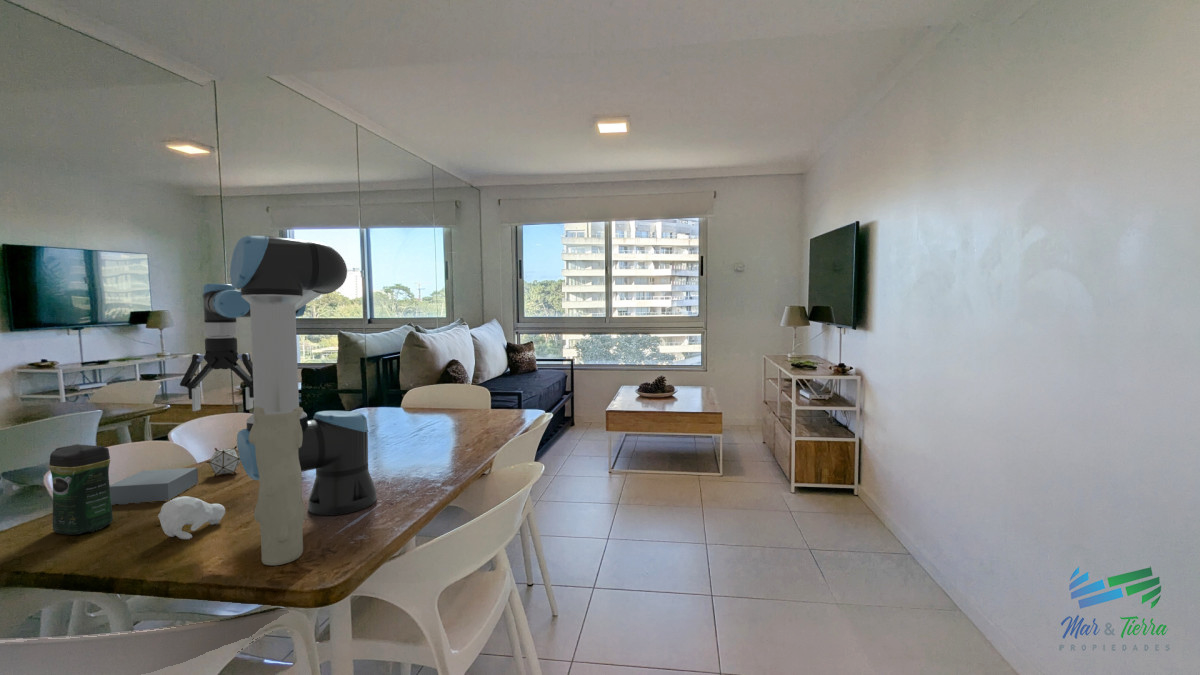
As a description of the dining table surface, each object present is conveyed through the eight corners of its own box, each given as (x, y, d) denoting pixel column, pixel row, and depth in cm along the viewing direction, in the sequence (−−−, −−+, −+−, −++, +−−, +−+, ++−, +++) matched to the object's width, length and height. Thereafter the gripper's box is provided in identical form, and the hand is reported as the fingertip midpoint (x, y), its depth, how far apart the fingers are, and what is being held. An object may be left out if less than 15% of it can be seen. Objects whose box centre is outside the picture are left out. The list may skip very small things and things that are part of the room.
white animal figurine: (155, 499, 105) (214, 485, 116) (152, 540, 104) (212, 523, 116) (176, 502, 103) (234, 488, 114) (173, 545, 102) (232, 526, 114)
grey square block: (168, 502, 127) (167, 483, 126) (107, 506, 124) (107, 486, 124) (198, 485, 139) (197, 467, 139) (143, 488, 137) (142, 470, 136)
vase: (245, 568, 94) (240, 409, 92) (274, 546, 102) (270, 401, 101) (291, 568, 94) (287, 409, 92) (317, 547, 102) (313, 401, 101)
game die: (228, 488, 146) (224, 467, 141) (201, 477, 146) (195, 456, 141) (252, 465, 154) (249, 444, 148) (226, 455, 154) (222, 434, 148)
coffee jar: (121, 522, 113) (117, 442, 113) (78, 538, 106) (73, 451, 105) (89, 519, 116) (85, 439, 115) (44, 533, 108) (40, 448, 107)
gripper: (274, 336, 152) (276, 405, 153) (178, 336, 146) (181, 408, 147) (263, 337, 144) (265, 410, 146) (162, 338, 139) (165, 413, 140)
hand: (223, 409), depth 147 cm, fingers open, 13 cm apart
